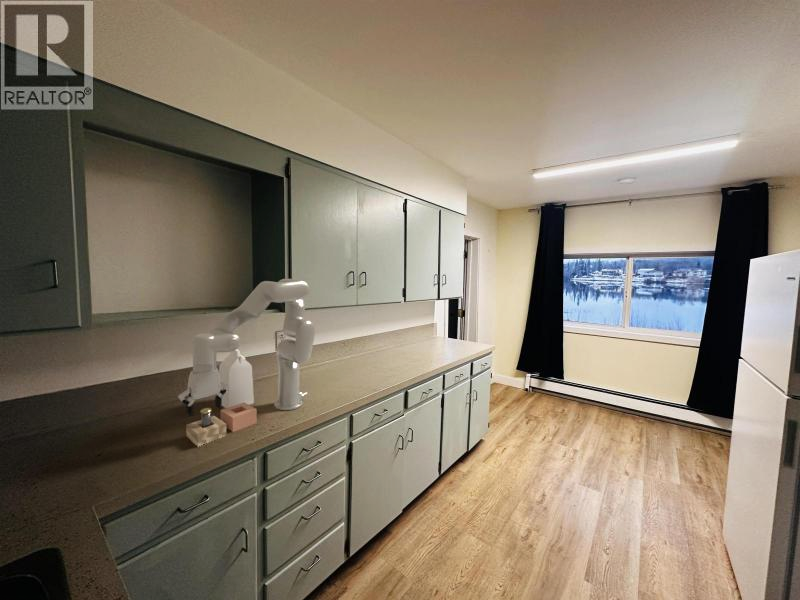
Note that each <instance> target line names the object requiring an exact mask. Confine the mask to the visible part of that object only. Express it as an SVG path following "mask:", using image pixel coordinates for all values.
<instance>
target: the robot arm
mask: <svg viewBox="0 0 800 600" xmlns="http://www.w3.org/2000/svg"><path fill="white" fill-rule="evenodd" d="M309 294H310V286H309V284H308V282H307V281H305V280H301V279H294V278H282V279H280V280H279V281H277V282H276V281H271V280H270V281H269V280H264V281H261V282H259V284H258V285H256V287H255V288H254V289H253V290H252V292H251V293H250V294H249V295H248V296H247V298H245V300H243V302H242V303H241V304H240V305H239V306H238V307H237V308H234V309H233V310H232V311H230V312H229V313H227V314H226V315H224V316H223V317H222V318H220V320H219V321H217V322H216V324H214V326H213V328H212V329H211V330H210V332H209V333H198V334H196V335H194V336H193V338H192V371H190V373H189V376H188V380H187V381H188V382H187V388H186V390H184V391H182V392H181V393H180V394H178V395H177V398H178V400H180V402H181V403H183V404H184V405H186V414H187V415H188V416H189V417H193V416H194V405H193V404H194V402H195V401H197V400H200V399H205V398H209V397H212V396H215V397H214V406H215V407H216V408H218V409H221V407H222V405H221V404H222V397H223V395H224V394H225V392H226V390H227V388H228V386H229V385H228V384H226V383H222V382H220V376H219V369H218V366H220V364H221V361H217V353H231V351H234V350H236V349H237V350H238V349H239V347H240V346H241V343H242V341H241V338H240V336H239V335H238V334H236V333H234V331H235V330H236V329H237V328H239V327H240V326H242V325H244V324H246V323H251V322H253V321H255V320H258V319H259V318H260V317H261V315H262V314H263V313H264V312H265V311H266V309H267V308H268V307H269V306H270V304H271V303H278V304H279V303H280V304H282V303H285V313H284V320H283V326H282V332H283V333H284V335H286V336H287V337H290V338H289V339H288V338H285V339H282V340H280V342H278V343H277V346H276V349H275V353H276V360H277V371H278V372H277V379H278V380H277V388H278V389H277V400H276V401H275V402H274V408H275V409H277V410H279V411H291V410H296V409H298V408H300V407H301V406H302V405H303V400H302V399H303V398H305V397H307V396H308V394H309V393H308V392H307V391H306V392H302V391H300V371H301V370H300V365H305V364H306V363H307V362H308V361H309V360H310V358H311V356H312V352H313V346H314V339H315V333H316V327H315V325H314V323H313V322H312V321H311V320H310V319H307V318H305V312H306V311H305V310H306V304H305V300H304V299H306V298H307V296H308V295H309ZM291 338H293V339H295V340H293V339H291ZM220 386H223V389H222V390H221V391H220ZM186 396H187V397H188V398H187V399H186V398H185V397H186Z"/></svg>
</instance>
